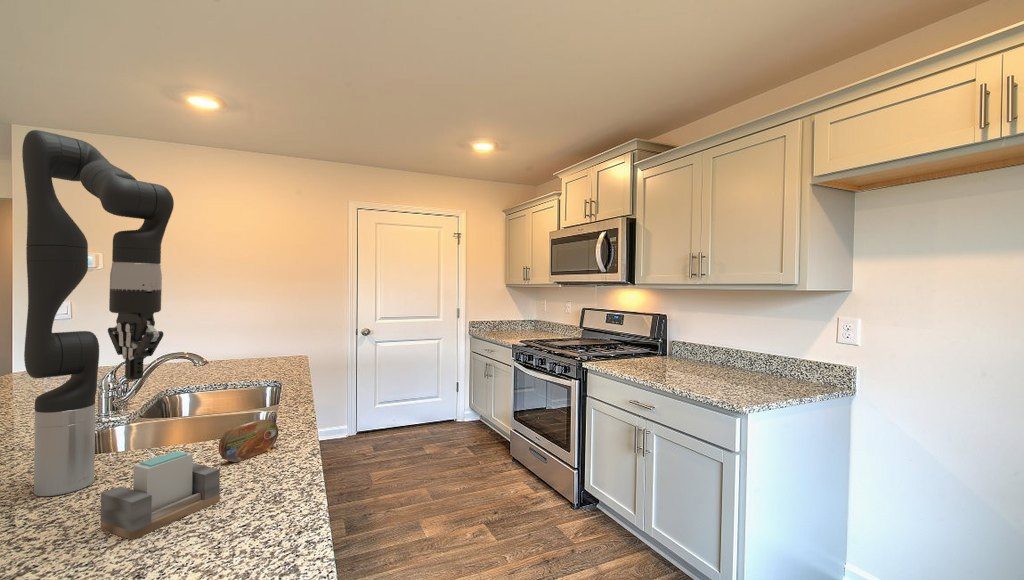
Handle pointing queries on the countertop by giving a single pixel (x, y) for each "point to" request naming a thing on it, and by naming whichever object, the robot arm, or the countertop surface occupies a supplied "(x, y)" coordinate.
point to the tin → (248, 440)
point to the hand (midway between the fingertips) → (134, 378)
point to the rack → (133, 509)
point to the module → (165, 478)
